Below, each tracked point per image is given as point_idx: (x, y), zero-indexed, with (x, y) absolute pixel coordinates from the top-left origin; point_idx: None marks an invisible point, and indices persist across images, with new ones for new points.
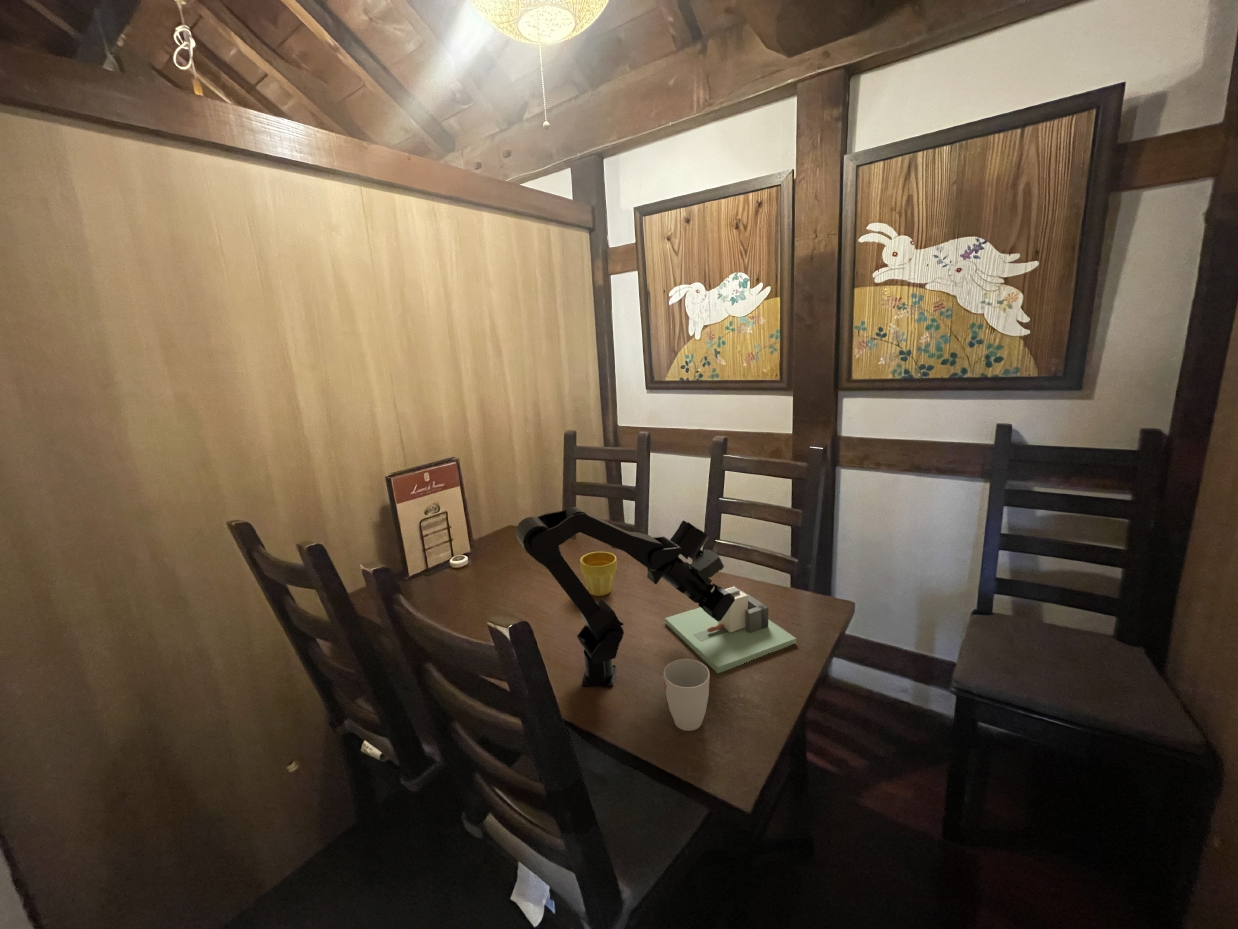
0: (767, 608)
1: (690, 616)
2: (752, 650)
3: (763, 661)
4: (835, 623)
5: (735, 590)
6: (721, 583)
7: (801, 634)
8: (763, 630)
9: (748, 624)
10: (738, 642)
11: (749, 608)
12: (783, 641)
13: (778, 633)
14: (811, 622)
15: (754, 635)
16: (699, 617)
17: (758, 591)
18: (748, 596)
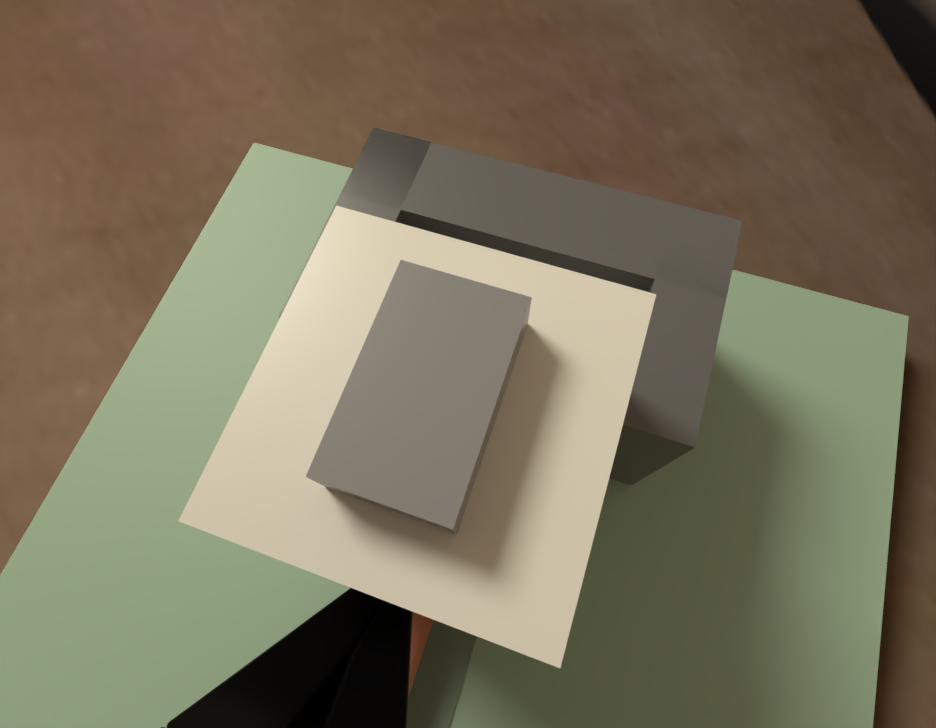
0: (735, 234)
1: (77, 610)
2: (823, 708)
3: (890, 691)
4: (858, 25)
5: (478, 350)
6: (85, 56)
7: (814, 222)
8: None
9: (631, 467)
10: (656, 683)
11: None
12: (885, 412)
13: (783, 344)
14: (763, 88)
15: (680, 490)
16: (157, 567)
17: (329, 6)
18: (460, 173)
